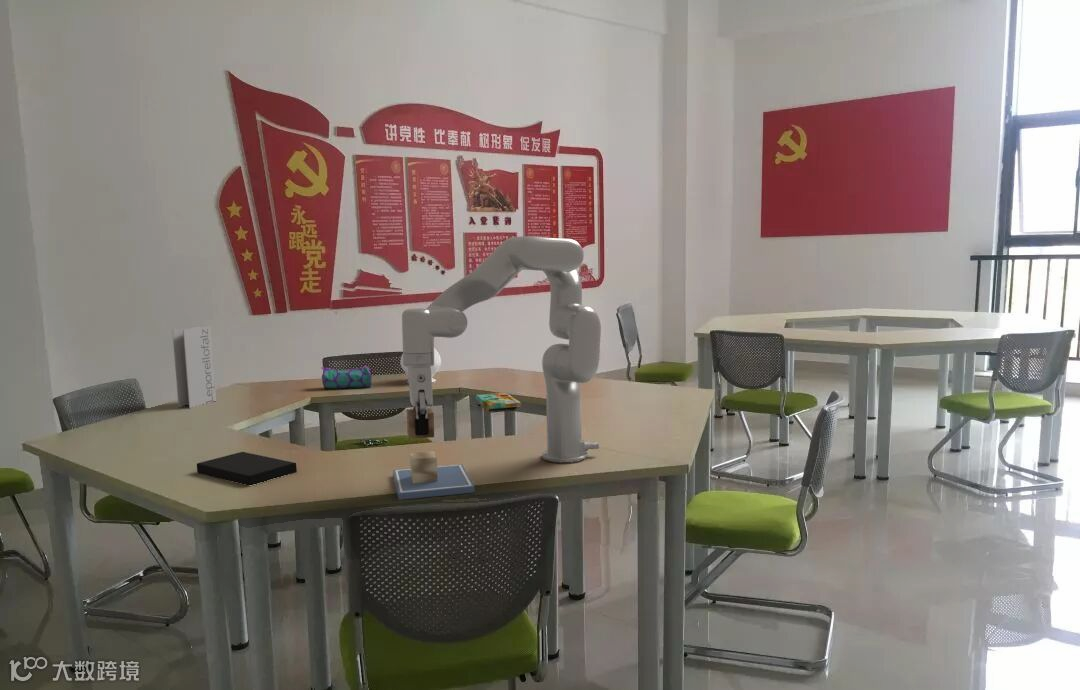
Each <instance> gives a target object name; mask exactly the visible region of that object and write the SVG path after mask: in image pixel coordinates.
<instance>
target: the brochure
mask: <svg viewBox="0 0 1080 690" xmlns="http://www.w3.org/2000/svg"><path fill="white" fill-rule="evenodd" d="M171 331H172V333H171V335H172V343H173V344H172V345H173V355H174V356H173V357H174V367H175V368H174V370H175V380H176V392H177V403H178V408H179V407H180V408H183V407H182V406H184V407H186V406H185V405H188V406H189V409H192V408H191V407H193V408H196V407H195V406H197V407H200V406H199V405H201V406H203V405H202V404H204V405H207V404H206V403H208V404H211V403H210V402H212V403H214V402H213V401H216V402H217V390H216V387H217V386H216V377H215V364H214V361H215V360H214V350H213V336H212V326H210V325H209V326H204V327H201V325H200V326H198V325H197V326H193V327H185V328H178V329H177V328H176V329H172V330H171Z"/></svg>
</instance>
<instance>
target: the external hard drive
mask: <svg viewBox="0 0 1080 690" xmlns="http://www.w3.org/2000/svg"><path fill="white" fill-rule="evenodd" d="M297 470H298V469H297V463H296V462H293V461H289V460H282V459H279V458H274V457H270V456H266V455H265V456H264V455H260V454H255V453H251V452H245V451H239V452H236V453H232V454H228V455H224V456H220V457H217V458H214V459H209V460H205V461H200V462H198V463H196V471H197V472H196V473H197V474H199V475H200V474H201V475H204V476H208V477H212V478H215V479H220V480H224V481H227V480H228V481H227V482H231V481H233V482H232V483H235V482H238V483H237V484H239V483H242V484H241V485H243V484H246V485H245V486H247V485H253V484H256V485H258V484H257V483H260V482H263V483H265V482H264V481H266V482H268V481H267V480H270V479H273V478H276V479H278V478H277V477H279V478H282V477H281V476H283V477H285V476H284V475H286V476H289V475H293V474H295V473H297ZM288 474H289V475H288ZM273 480H274V479H273ZM270 481H271V480H270ZM260 484H261V483H260ZM253 486H254V485H253Z"/></svg>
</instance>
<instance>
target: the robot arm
mask: <svg viewBox="0 0 1080 690" xmlns="http://www.w3.org/2000/svg"><path fill="white" fill-rule="evenodd" d="M584 253H585V252H584V249H583V247H582V246H581V244H580V243H579V242H578V241H576V240H574V239H571V238H559V237H544V236H543V237H542V236H531V235H530V236H529V235H527V236H524V235H523V236H511V237H509V238H507V239H505V240H503V242H501V243H500V244H499V246H497V247H496V248H495V250H493V251H492V252H491V253H490V254H489V255H488V256H487V257H486V258H485V259H484V260H483V261H482V262H481V263H479V265H478V266H477V267H476V268H475V269H474V270H472V271H471V272H470V273H468V274H467V275H465V276H464V277H462V278H461V279H460V280H458V281H457V282H455V283H454V284H452V285H450V286H449V287H448V288H446V289H445V290H444V291H443V292H441V294H438V296H437V297H436V298H435V299H434V300H433V301H432V302H431V303H430V304H429V305H428V307H426V308H420V307H419V308H408V309H405V310H403V311H402V315H401V329H402V330H401V331H402V332H401V333H402V354H403V366H405V367H408V374H409V376H408V380H409V383H408V391H409V400H410V403H411V406H412V409H416V419H415V434H416V435H417V436H419V435H428V434H429V421H428V413H427V409H428V406H429V407H430V408H432V407H433V406H434V399H433V383H432V378H433V377H431V367H430V366H434V348H435V338H448V339H450V338H451V339H453V338H457V337H460V336H461V335H462V334H463V333H464V332H465V331H466V330H467V327H468V318H467V316H466V314H465V313H464V311H466V310H467V309H469V308H470V307H472V306H475V305H477V304H479V303H483V302H485V301H488V300H490V299H492V298H494V297H496V296H497V295H499V294H500V293H501V291H503V289H504V288H505V287H507V286H508V284H510V282H511V281H512V280H513V279H514V278H516V276H518V275H519V274H520V272H522V271H524V270H525V271H539V272H543V273H544V275H545V276H546V277H547V279H548V282H549V286H550V300H549V301H550V303H549V318H548V319H549V321H548V326H549V331H550V333H551V335H553V336H555V337H556V338H559V339H562V340H568V344H567V343H554V344H552V345H550V346H549V347H548V348H546V350H545V351H544V353H543V356H542V361H541V367H542V371H543V372H542V373H543V377H544V383H545V396H546V397H545V398H546V399H545V400H546V403H545V404H546V440H547V441H546V443H547V444H546V447H547V449H546V450H544V451H542V453H541V458H542V459H543V460H544V461H546V460H547V462H550V461H551V463H557V462H560V463H559V464H562V463H561V462H571V463H574V462H573V461H578V460H582V459H584V460H586V459H587V458H588V450H599V449H600V448H599V446H600V445H599V442H598V441H595V442H594V441H593V442H592V441H585V440H584V439H583V438H582V395H581V393H582V392H581V386H580V384H584V383H588V382H590V381H591V380H593V378H594V377H595V376H596V374H597V372H598V369H599V365H600V364H599V363H600V351H601V337H602V336H601V334H602V333H601V331H602V327H601V326H602V325H601V321H600V317H599V315H598V313H597V312H596V311H595V310H594V309H593V308H592V307H590V306H587V305H583V299H582V298H583V296H582V295H583V285H582V279H581V277H580V274H579V272H578V270H577V269H578V268H580V266H581V265H582V264H583V261H584V257H585V256H584ZM418 409H420V410H419V411H418ZM586 457H587V458H586ZM585 458H586V459H585ZM582 461H583V460H582ZM578 462H579V461H578Z"/></svg>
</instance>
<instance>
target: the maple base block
mask: <svg viewBox="0 0 1080 690" xmlns="http://www.w3.org/2000/svg"><path fill="white" fill-rule="evenodd" d="M437 460H438V457H437V455H436V452H435V451H433V450H431V451H423V452H422V451H421V452H410V453H409V463H410V469H411V478H412V482H413V483H423V482H433V481H438V479H437V466H438V461H437Z"/></svg>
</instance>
